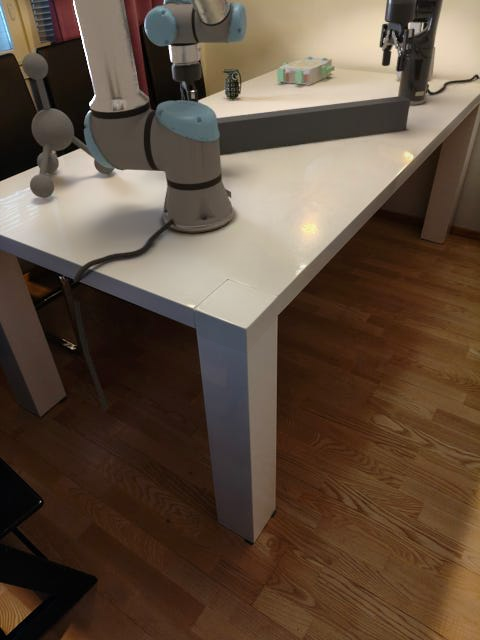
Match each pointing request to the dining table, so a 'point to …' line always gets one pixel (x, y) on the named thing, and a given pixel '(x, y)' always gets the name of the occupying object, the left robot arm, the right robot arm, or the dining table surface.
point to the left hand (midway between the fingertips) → (194, 149)
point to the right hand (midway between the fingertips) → (392, 68)
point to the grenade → (232, 83)
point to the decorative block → (305, 71)
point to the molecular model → (50, 131)
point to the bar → (312, 124)
